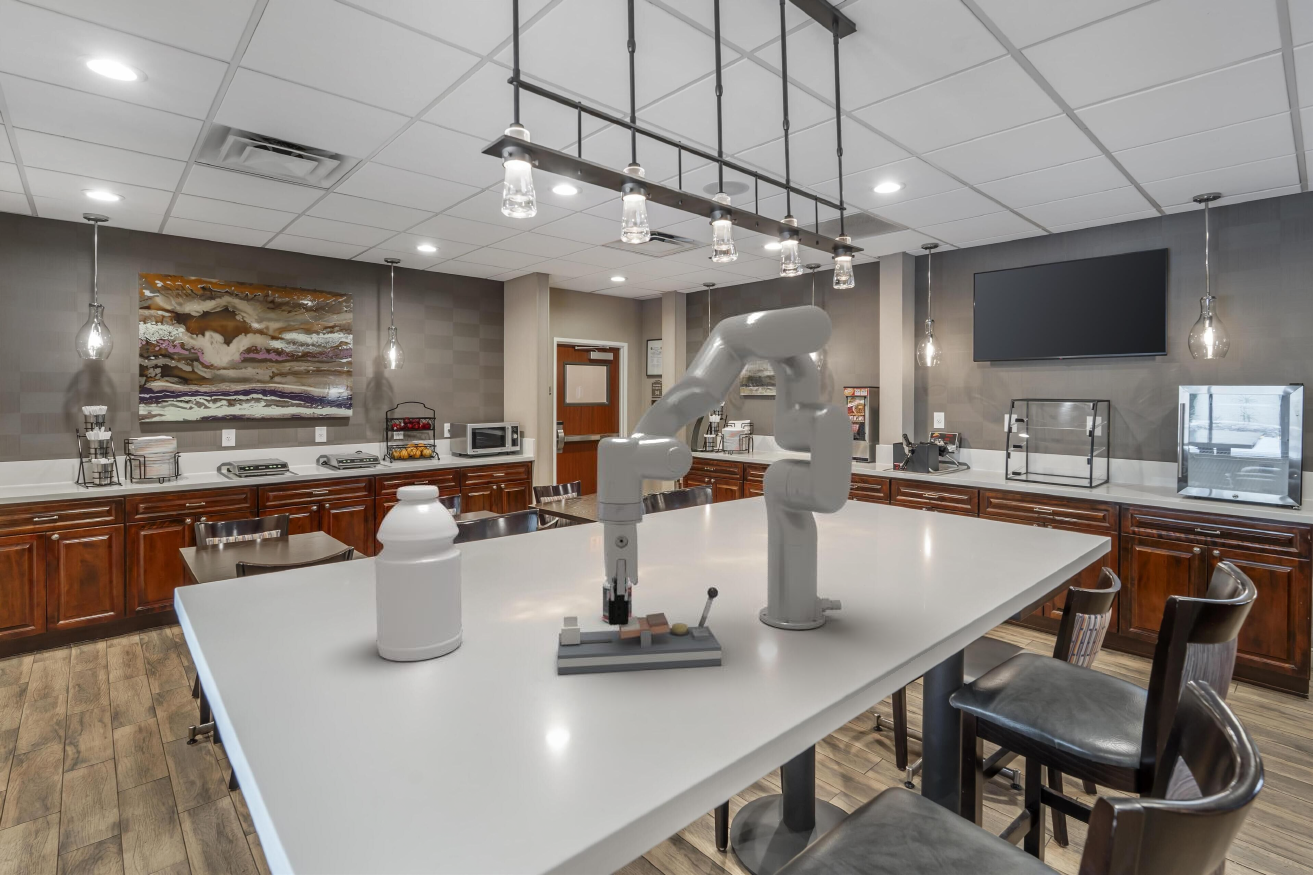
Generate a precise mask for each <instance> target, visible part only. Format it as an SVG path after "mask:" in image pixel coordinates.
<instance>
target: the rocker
mask: <svg viewBox="0 0 1313 875" xmlns="http://www.w3.org/2000/svg"><path fill="white" fill-rule="evenodd" d="M637 617H638V616H632V617H628V624H626V625H618V630H619V631H620V635H621V638H628V637H635V636H641V631H647V630H651V634H656V633H663V632H670V628H671V627H670V624H669V622H668V619H667V617H666V615H665V613H664V612H658V613H650V614H646V616H645V617H646V618H642V619H637Z"/></svg>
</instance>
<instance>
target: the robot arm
mask: <svg viewBox="0 0 1313 875" xmlns="http://www.w3.org/2000/svg"><path fill="white" fill-rule="evenodd" d="M832 326H833V325H832V320H831V319H830V316H829V315H828V313H827V312H826V311H825V310H824V309H822V308H821V307H819V306H816V305H810V304H809V305H808V304H807V305H801V306H795V307H788V308H781V309H772V310H771V309H769V310H762V311H753V312H749V313H744V314H739V315H735V316H730V317H727V318H724V319H723V320H721V321H719V322H718V323H717V324H716V325H715V326H714V328H713V330H712V331H711V332H710V334H709V335H708V337H707V339H705V341H704V343H703V345H702V346H701V347H700V349H699V351H698V352H697V354H696V355H695V357H694V359H693V360H692V362H691V364H690V365H689V366H688V368H687V369H686V371H685V373H684V374H683V375H682V377H681V379H679V380H678V381H677V382H676V383H675V384H674V385H673V386H671V387H670V388H669V389H668V390H667V391H666V392H665V393H664V394H663V395H662V396H660V397H659V399H657V400H656V401H655V402H654V403H653V404H652V405H651V406H650V407H648V409H647V410H646V412H645V413H644V414H643V415H642V417H641V418H640V419H639V421H638V422H637V424H636V426H634V429H632V432H631V433H630V435H629V436H627V437H626V436H622V437H621V436H610V437H609V436H608V437H604V438H601V439H600V441H599V442H598V445H597V459H596V460H597V464H596V465H597V472H596V474H597V476H596V482H597V484H596V486H597V487H596V522H597V523H599V524H603V559H604V571H605V572H606V576H605V577H606V579H607V582H608V584H609V585H610V597H611V598H609V606H608V621H609V622H608V624H609V625H610V626H619V625H626V624H628V614H629V600H628V580H630V582H631V584H632V585H633V586H637V585H638V583H639V570H638V568H639V565H638V562H639V561H638V560H639V559H638V558H639V556H638V555H639V554H638V548H639V546H638V528H637V527H638V526H637V524H640V523H642V522H643V520H644V519H643V517H644V516H643V512H644V511H643V510H644V509H643V507H644V506H643V505H644V503H643V500H644V499H643V496H644V480H652V481H661V482H673V481H674V482H675V481H678V480H680V479H681V478H683V477H685V476H686V475H687V474H688V473H689V471H690V469H691V468H692V464H693V461H694V460H693V459H694V458H693V453H692V450H691V448H690V447H689V446H688V444H687V443H686V442H684V441H683V440H682V439H680V438H677V437H675V436H676V435H677V434H678V433H679V432H680V431H681V430H682V429H683V428H685V427H686V426H688V425H689V424H690V423H692V422H693V421H696V420H698V419H701V418H702V417H704V416H706V415H708V414H711V413H712V412H713V411H715V410H717V409H718V408H719V407H720V406H722V405H723V403H724V402H725V401H726V399H727V397H728V395H729V393H730V392H731V391H732V389H733V387H734V385H735V384H736V382H737V381H738V379H739V377H740V376H741V374H742V373H743V371H744V369H745V368H746V366H747V365H748V364H749V363H754V362H755V363H756V362H764V361H766V362H767V363H768V364H769V366H770V368H771V370H772V371H773V375H774V378H775V399H774V400H775V403H774V415H773V416H774V417H773V437H774V440H775V443H776V445H777V447H780V448H781V449H783V450H785V451H789V452H794V453H807V454H810V460H809V459H802V458H801V459H800V458H783V459H779V460H776V461H774V462H772V463H771V464H770V465H769V466H768V467H767V468H766V470H765V472H764V474H763V476H762V477H763V478H762V492H763V498H764V502H765V507H766V508H765V509H766V517H767V518H766V520H767V605H766V606H764V607H763V608H761V609H760V611H759V613H758V614H759V619H760V620H761V622H763V623H764V624H767V625H769V626H772V627H774V628H780V629H786V630H787V629H788V630H810V629H815V628H819V627H821V626H823V625H824V624H825V622H826V615H825V614H824V613H826V611H841V610H842V602H841V600H840V599H836V600H835V599H831V600H830V598H828V597H825V598H824V597H823V598H821V597H820V596H819V595H818V538H819V537H818V527H817V522H816V519H815V517H814V514H813V513H819V514H826V515H827V514H828V515H830V514H833V513H834V514H835V513H837V512H839V511H840V510H841V509H843V507H844V506H845V505H846V504H847V501H848V498H849V496H850V491H851V483H852V482H851V481H852V471H853V470H852V469H853V452H854V451H853V450H854V427H853V426H854V425H853V422H852V419H851V417H850V415H849V413H848V412H847V410H846V409H845V408H843V407H842V406H841V405H839V404H837V403H833V402H821V375H820V372H819V369H818V366H817V364H816V362H815V361H814V359H813V358H812V356H811V355H810V354H813V353H817V352H819V351H821V350H822V349H823V348H825V347H826V345H827V344H828V342H829V341H830V339H831V336H832V332H833V327H832Z"/></svg>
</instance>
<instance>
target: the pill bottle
mask: <svg viewBox="0 0 1313 875" xmlns="http://www.w3.org/2000/svg"><path fill="white" fill-rule="evenodd" d="M605 577H606V572H605ZM632 585H633V583H631V582H630V579H628V600H629V614H628V617H633V616H632V615H633V614H632V612H633V611H632V610H633V609H632V606H633V605H632V602H633V599H632V598H633V595H632V594H633V593H632V592H633V591H632ZM609 598H611V597H610V585H609V584H608V582H607V578H606V579H605V580H604V581H603V583H602V619H603V620H604V621H605V622H607V623H609V621H608V606H609Z"/></svg>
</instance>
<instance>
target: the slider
mask: <svg viewBox="0 0 1313 875" xmlns="http://www.w3.org/2000/svg"><path fill="white" fill-rule="evenodd" d="M560 626H561V632H560V633H561V645H564V644H580V632H581V622H578V615H577V614H576V615H574V614H571V615H570V614H569V615H563V623H561V625H560Z"/></svg>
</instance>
